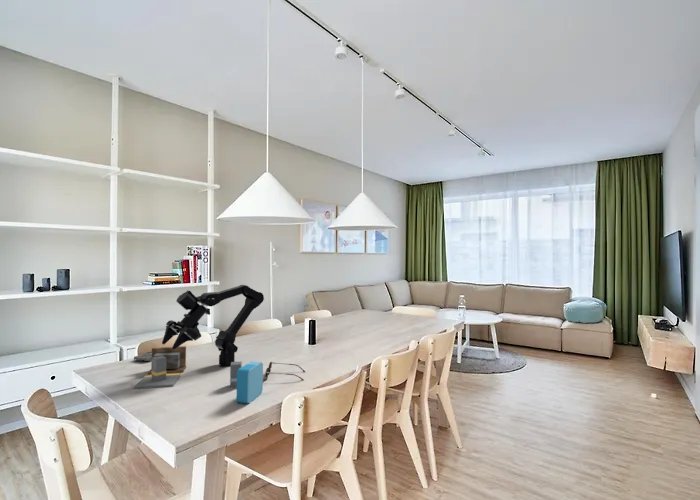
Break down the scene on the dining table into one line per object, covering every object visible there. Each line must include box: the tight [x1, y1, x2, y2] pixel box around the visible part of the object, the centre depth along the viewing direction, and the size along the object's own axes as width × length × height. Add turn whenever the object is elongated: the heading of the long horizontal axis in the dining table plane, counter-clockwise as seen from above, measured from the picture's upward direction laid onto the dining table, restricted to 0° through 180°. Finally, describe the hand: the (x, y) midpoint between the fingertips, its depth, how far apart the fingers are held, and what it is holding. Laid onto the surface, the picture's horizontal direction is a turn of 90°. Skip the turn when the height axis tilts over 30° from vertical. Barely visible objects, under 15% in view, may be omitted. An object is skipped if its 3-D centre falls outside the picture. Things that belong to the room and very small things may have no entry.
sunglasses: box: [265, 361, 306, 381], centre depth 160 cm, size 14×16×5 cm
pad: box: [133, 373, 182, 390], centre depth 151 cm, size 14×14×1 cm
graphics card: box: [133, 351, 152, 362], centre depth 185 cm, size 17×4×12 cm
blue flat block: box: [235, 361, 264, 404], centre depth 135 cm, size 12×4×12 cm, turn 168°
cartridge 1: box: [151, 356, 167, 382], centre depth 151 cm, size 4×4×9 cm
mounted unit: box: [147, 345, 187, 375], centre depth 165 cm, size 14×7×10 cm, turn 103°
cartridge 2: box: [229, 361, 243, 389], centre depth 147 cm, size 4×4×9 cm
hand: (167, 346), depth 155 cm, fingers open, 9 cm apart
